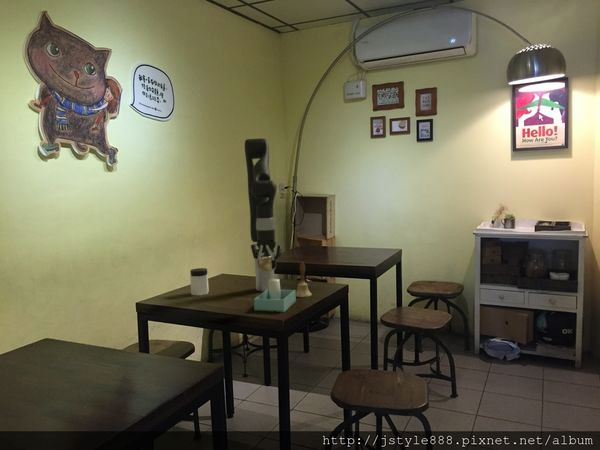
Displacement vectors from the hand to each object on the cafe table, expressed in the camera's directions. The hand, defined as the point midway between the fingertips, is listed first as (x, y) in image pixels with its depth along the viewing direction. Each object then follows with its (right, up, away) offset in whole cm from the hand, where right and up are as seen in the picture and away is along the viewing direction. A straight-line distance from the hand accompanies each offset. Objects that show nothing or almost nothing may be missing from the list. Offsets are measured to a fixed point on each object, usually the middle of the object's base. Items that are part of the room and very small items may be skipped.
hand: (267, 268), depth 200 cm
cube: (0, -1, 0) cm, 0 cm away
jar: (-36, -16, +35) cm, 52 cm away
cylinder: (+3, -16, +11) cm, 19 cm away
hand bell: (+15, -15, +24) cm, 32 cm away
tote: (+3, -17, +7) cm, 19 cm away
